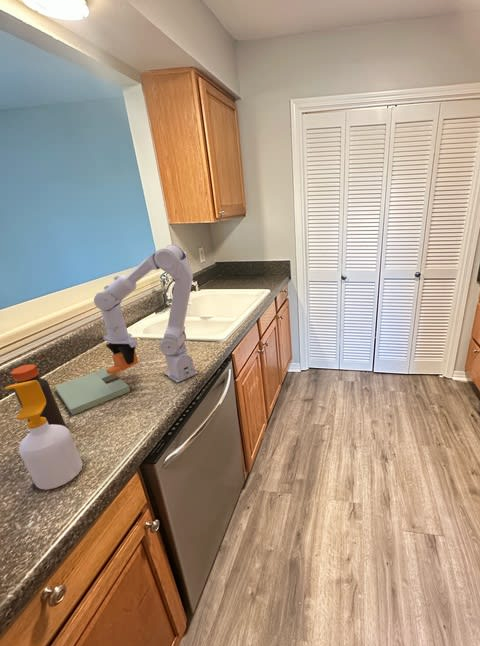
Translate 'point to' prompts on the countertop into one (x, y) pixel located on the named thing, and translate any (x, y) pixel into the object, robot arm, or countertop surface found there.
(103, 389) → the grey tile
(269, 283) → the countertop surface
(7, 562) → the countertop surface
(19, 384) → the soap bottle
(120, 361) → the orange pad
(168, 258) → the robot arm
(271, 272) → the countertop surface
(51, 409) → the vinegar
